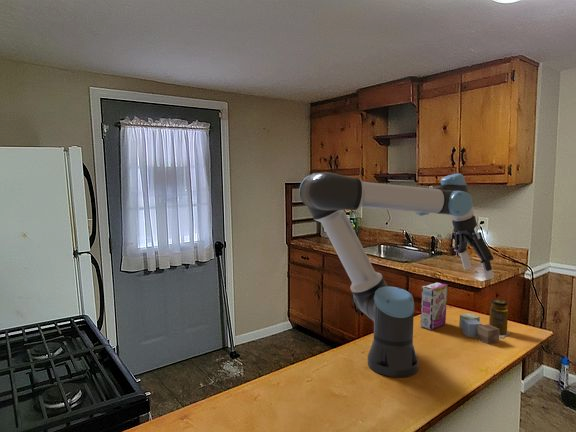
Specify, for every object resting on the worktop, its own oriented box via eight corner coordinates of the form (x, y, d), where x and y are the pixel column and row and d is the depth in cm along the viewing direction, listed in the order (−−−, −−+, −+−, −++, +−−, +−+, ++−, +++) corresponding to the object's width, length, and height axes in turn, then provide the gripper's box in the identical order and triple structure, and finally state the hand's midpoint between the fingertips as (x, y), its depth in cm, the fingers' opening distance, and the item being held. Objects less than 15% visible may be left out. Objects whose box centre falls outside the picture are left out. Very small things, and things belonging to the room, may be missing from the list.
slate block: (468, 337, 142) (468, 324, 142) (462, 332, 147) (462, 319, 147) (481, 337, 142) (482, 324, 142) (475, 332, 147) (475, 319, 147)
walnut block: (487, 344, 136) (488, 330, 135) (476, 339, 141) (477, 325, 140) (499, 342, 137) (499, 329, 137) (488, 337, 142) (488, 324, 142)
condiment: (510, 332, 147) (512, 301, 146) (503, 338, 141) (504, 306, 140) (490, 327, 152) (491, 297, 151) (482, 332, 146) (483, 301, 145)
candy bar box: (431, 331, 148) (433, 289, 147) (420, 327, 152) (421, 286, 150) (446, 324, 155) (448, 284, 154) (435, 320, 159) (436, 281, 158)
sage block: (470, 331, 147) (470, 319, 147) (459, 327, 152) (459, 315, 152) (479, 329, 150) (479, 317, 149) (468, 325, 154) (468, 313, 154)
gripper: (494, 218, 123) (511, 279, 126) (454, 210, 148) (468, 261, 150) (473, 226, 122) (489, 287, 125) (436, 216, 147) (450, 268, 150)
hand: (478, 273), depth 138 cm, fingers open, 13 cm apart
